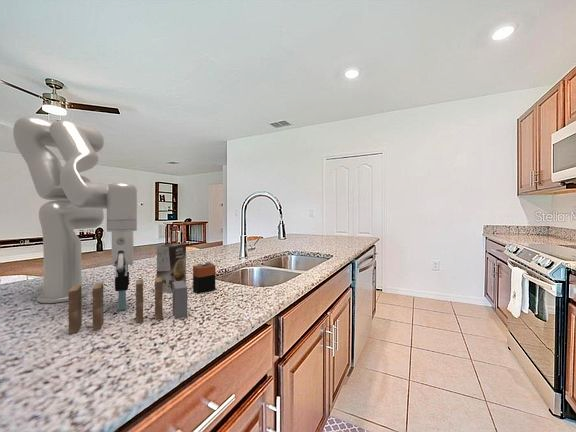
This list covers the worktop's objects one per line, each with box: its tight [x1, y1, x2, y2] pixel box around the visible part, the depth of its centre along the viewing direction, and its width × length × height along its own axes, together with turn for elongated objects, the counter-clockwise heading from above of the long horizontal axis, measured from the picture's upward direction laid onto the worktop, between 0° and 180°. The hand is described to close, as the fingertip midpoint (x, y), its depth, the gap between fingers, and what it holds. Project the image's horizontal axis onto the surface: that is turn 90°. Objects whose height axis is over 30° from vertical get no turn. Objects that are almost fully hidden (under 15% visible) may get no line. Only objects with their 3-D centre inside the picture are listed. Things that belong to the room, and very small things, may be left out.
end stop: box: [171, 281, 188, 320], centre depth 76 cm, size 3×8×8 cm, turn 28°
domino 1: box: [68, 285, 83, 335], centre depth 65 cm, size 2×5×10 cm, turn 28°
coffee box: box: [156, 243, 187, 293], centre depth 100 cm, size 9×6×16 cm
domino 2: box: [91, 282, 104, 331], centre depth 67 cm, size 2×5×10 cm, turn 28°
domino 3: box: [117, 290, 127, 311], centre depth 80 cm, size 2×5×10 cm, turn 28°
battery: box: [192, 261, 216, 294], centre depth 97 cm, size 4×7×10 cm, turn 137°
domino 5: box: [154, 277, 164, 321], centre depth 73 cm, size 2×5×10 cm, turn 28°
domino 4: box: [135, 278, 144, 324], centre depth 71 cm, size 2×5×10 cm, turn 28°
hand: (122, 287), depth 80 cm, fingers closed on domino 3, 4 cm apart
